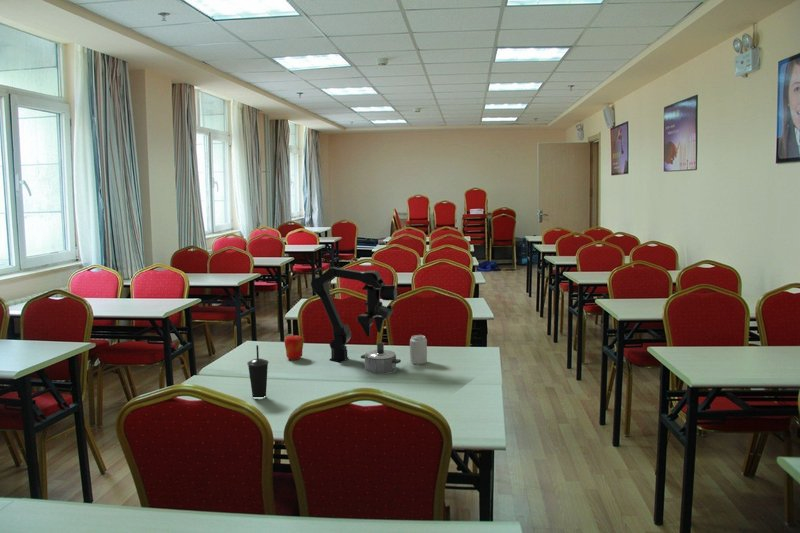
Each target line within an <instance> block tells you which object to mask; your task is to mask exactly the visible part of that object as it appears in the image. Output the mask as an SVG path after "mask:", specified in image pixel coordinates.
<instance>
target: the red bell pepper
mask: <svg viewBox="0 0 800 533" xmlns="http://www.w3.org/2000/svg"><path fill="white" fill-rule="evenodd" d="M284 347H285V354H286V358H287V359H288V360H290V359H292V360H291V361H294V359H296V360H299V359H301V357H303V348H304V339H303V336H300V335H299V334H298V335H297V334H296V335H295V334H294V333H292V335H288V336H286V337H285V338H284Z"/></svg>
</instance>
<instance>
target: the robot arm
mask: <svg viewBox="0 0 800 533" xmlns="http://www.w3.org/2000/svg"><path fill="white" fill-rule="evenodd" d="M334 278H341V279H346V280H347V279H348V280H352V281H358V282H360V283H362V284H364V286H363V287H362V288H361V290H362V291H366V301H365V302H364V306H366V311H365V313H361V314H359V315H357V317H356V322H357V323H358V324H360V326H361V327H362V330H363V331H364V333H365V336H366V337H367V338H370V336H371V328H372V325H373V324H374V323H375V327H376V330H377V331H376V332H377V333H381V332H382V327H383V324H384V322H385V320H386V319H388V318H391V316H392V314H394V307H393V305H392V304H388V305H387V306H386V305H383V302H382V301H381V300H383V301H393V302H395V301H397V300H398V299H397V298H398V291H397V287H396V286H397V285H396V284H391V285H390V284H389V285H388V284H386V282H385V281H384V280H383V278H382V276H381V273H380V272H379V271H377V270H362V271H361V270H354V269H348V268H341V267H338V266H332V267H329V269H328V270H326V271H325V272H324V273H322V274H321V275H319V276H316V277H314V278H313V279H311V282H310V286H311V289H312V290H313V291H314V292H313V293H315V295H317V297H319V298H320V300H321V303H322V305H323V308H324V310H325V313H326V314H327V317H328V319H329V322H330V323H331V326H332V336H333V340H332V341H331V342H329V347H330V350H331V353H330V354H331V355H330V356H331V358H329V361H333V362H339V363H342V362H344V361H347V360H348V359H349V357H348V348H347V346H346V345H347V344H348V342H349V341H350V340H351V338H352V334H351V333H352V331H351V329H350V326H349V324H344V322H343V321H342V319H341V317H340V314H339V311H338V309H337V307H336V305H335V303H334V300H333V298H332V295H331V291H330V283H329V282H330V281H331V280H333V279H334ZM380 299H381V300H380Z"/></svg>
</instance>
